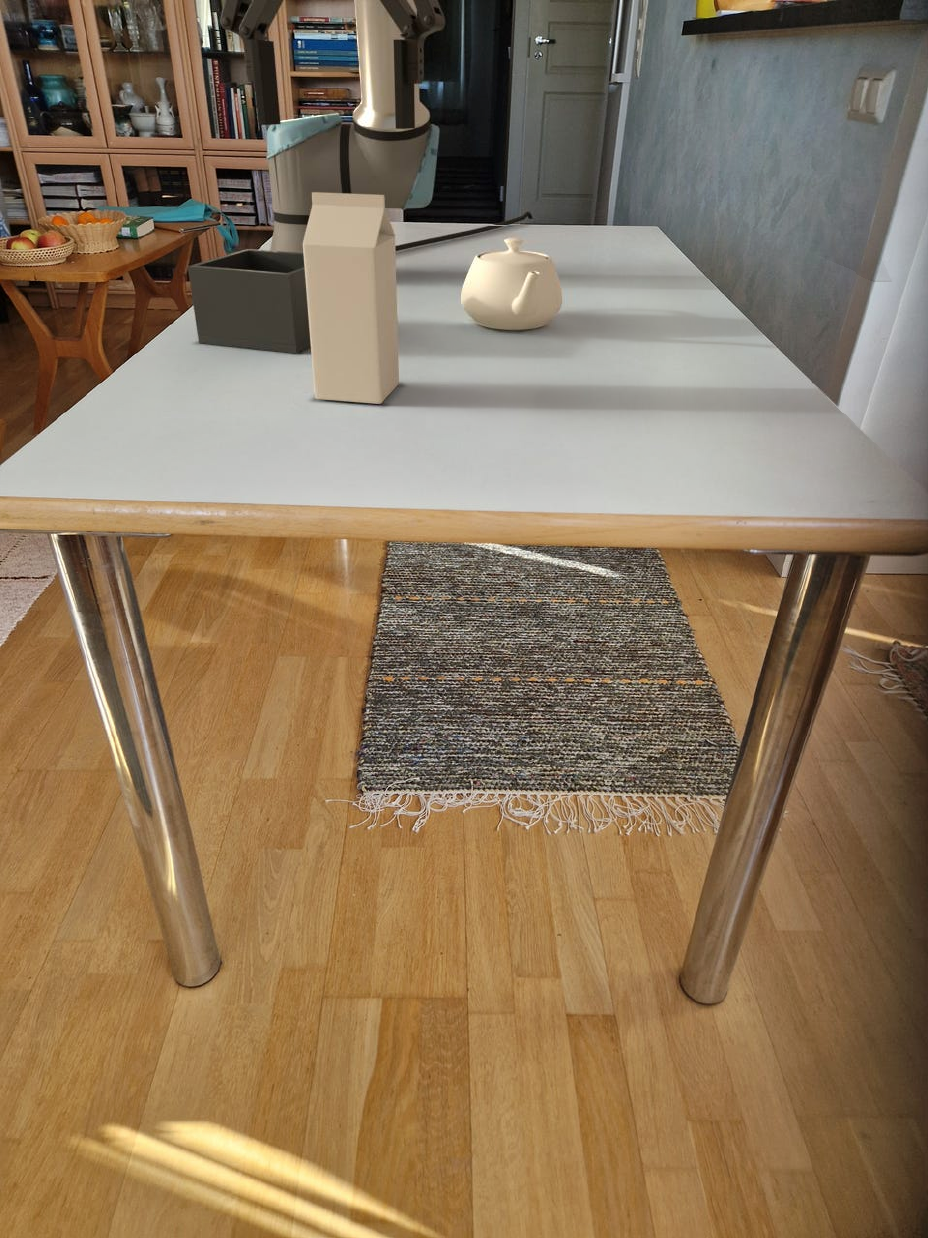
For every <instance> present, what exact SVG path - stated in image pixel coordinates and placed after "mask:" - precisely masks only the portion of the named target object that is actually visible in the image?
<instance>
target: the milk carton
mask: <svg viewBox="0 0 928 1238" xmlns="http://www.w3.org/2000/svg"><path fill="white" fill-rule="evenodd" d="M312 203H313V205H312V209H311V213H310V217H309V221H308V225H307V228H306V232H305V236H304V240H303V252H304V265H305V277H306V290H307V302H308V315H309V328H310V340H311V346H310V352H311V364H312V375H313V376H312V377H313V388H314V398H315V399H316V400H327V401H339V402H351V403H352V402H353V403H363V404H377V405H379V404H380V405H381V404H382V403H383V402H384V400H386V398H387V397H388V396H389V395H390V394H391V393H392V392H393V391H394V390H395V388H396V387H398V386H399V383H400V367H399V366H400V364H399V363H400V362H399V361H400V360H399V329H398V328H399V327H398V324H399V323H398V294H397V293H398V291H397V290H398V288H397V258H396V257H397V253H396V252H397V251H396V249H395V246H396V233H395V231H394V229H393V226H392V222H391V220H390V217H389V215H388V212H387V210H386V209H387V208H385V198H384V195H369V194H343V193H318V192H313V193H312Z"/></svg>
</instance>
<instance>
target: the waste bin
mask: <svg viewBox="0 0 928 1238" xmlns="http://www.w3.org/2000/svg"><path fill="white" fill-rule="evenodd" d="M187 271H188V277H189V278H188V279H189V284H190V286H189V287H190V290H191V291H190V292H191V299H192V305H193V312H194V318H195V325H196V333H197V339H198V343H199V344H205V345H214V346H222V347H231V348H241V349H248V350H249V349H250V350H257V351H259V350H261V351H268V352H277V353H286V354H295V355H296V354H299V353H301V352H303V351H304V350H306V349H308V348H311V340H310V328H309V315H308V302H307V290H306V277H305V265H304V253H295V252H282V251H270V249H269V250H266V249H254V248H246V249H242V250H238V251H235V252H232V253H228V254H224V255H222V256H218V257H214V258H211V259H208V260H205V261H202V262H198V263H194V264H191V265H188V266H187Z"/></svg>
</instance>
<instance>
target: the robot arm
mask: <svg viewBox="0 0 928 1238" xmlns="http://www.w3.org/2000/svg"><path fill="white" fill-rule="evenodd" d="M284 1H285V0H224V1H223V5H222V6H223V7H222V11H221V14H220V18H219V19H220V21H219V22H220V26H221V27H222V29H223V30H225V31H229V32H232V33H233V34H235V35H238V36H239V37H240V39H241V41H242V45H243V54H244V55H243V56H244V65H245V74H246V78H247V81H248V82H250V83H254V89H255V99H256V109H257V119H258V120H257V121H258V126H268V128H267V130H266V153H267V154H266V160H267V164H268V173H269V183H270V193H271V194H270V195H271V203H272V204H271V205H272V213H273V223H274V227H273V232H272V237H271V243H270V247H269V251H282V252H295V253H304V252H303V240H304V236H305V232H306V228H307V225H308V221H309V217H310V213H311V209H312V205H313V203H312V193H313V192H318V193H343V194H369V195H384V198H385V209H400V210H406V209H421V208H425V207H427V206H428V205H430V203H431V202H432V199H433V196H434V195H433V194H434V188H435V187H434V186H435V180H436V169H437V160H438V149H439V140H440V139H439V138H440V128H439V126H438V125H435V124H434V123H431V122H430V121H431V119H430V118H431V114H430V111H429V109H428V108H427V107H426V106H425V105H424V104H423V103H422V102H421V101H420V85H422V84H423V81H424V78H425V65H424V64H425V59H424V58H425V56H424V55H425V53H424V50H425V49H424V48H425V47H424V46H425V45H424V44H425V41H426V38H427V37H428V36H430V35H431V34H433V33H436V32H438V31H439V32H440V31H442V30H443V29H444V28H445V25H446V18H445V15H444V13H443V10H442V8H441V5H440V2H439V0H354V12H355V13H354V14H355V25H356V41H357V55H358V66H359V80H360V82H359V83H360V95H361V96H360V97H361V102H360V103H359V104H358V106H357V107H356V108H355V109H354V111H353V113H352V122H353V123H346V124H345V123H343V119H342V117H341V115H340V113H329V114H328V113H327V114H319V115H312V116H305V117H300V118H299V117H298V118H291V119H285V120H281V113H280V112H281V111H280V101H279V89H278V79H277V78H278V76H277V68H276V67H277V66H276V54H275V43H274V41H273V40H268V39H269V37H268V36H267V35H266V34H267V33H268V31H269V29H270V27H271V25H272V24H273V21H274V20H275V18H276V16H277V14H278V12H279V10H280V8H281V6H282V5H283V3H284ZM532 215H533V214H532V213H531V212H530V211H525V212H524V213H523V214H521V215H520V216H518V217H514V218H511V219H508V220H505V221H500V222H498V223H493V224H492V225H507V226H510V225H512V224H516V223H518V222H521V221H524V220H525V219H526V218H528V220H533V218H534V217H533V216H532ZM503 227H504V226H490V225H486V226H482V227H477V228H473V229H469V230H465V231H464V230H463V231H459V232H455V233H449V234H443V235H440V236H439V235H438V236H435V237H430V238H426V239H425V238H424V239H420V240H416V241H411V242H407V243H406V242H405V243H402V244H397V245H395V249H396V252H399V251H404V250H408V249H413V248H417V247H420V246H426V245H432V244H435V243H440V242H445V241H449V240H454V239H459V238H463V237H469V236H473V235H477V234H481V233H486V232H489V231H493V230H496V229H500V228H503Z"/></svg>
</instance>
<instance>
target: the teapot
mask: <svg viewBox="0 0 928 1238" xmlns="http://www.w3.org/2000/svg"><path fill="white" fill-rule="evenodd" d="M503 241H504V243H505V244H506V246H507V248H508V250H507V249H506V250H504V249H503V250H490V251H483V252H480V253H478V254H476V255H475V256H474V258H473V260H472V263H471V265H470V266H469V269H468V270H467V271H468V272H467V274H466V276H465V279H464V282H463V285H462V288H461V289H462V290H461V293H460V302H461V306H462V308H463V310H464V312H465V313H466V314H467V315H468V316H469V317H470V319H472V320H473V322H474V323H475V324H477V325H480V326H482V327H485V328H489V329H494V330H495V329H496V330H506V331H522V330H523V331H524V330H532V329H537V328H540V327H543V326H545V325H547V324H548V323H549V322H550V321H551V320H552V319H553V318H555V316H556V315H557V314H558V313H559V312H560V311H561V308H562V305H563V292H562V286H561V282H560V279H559V276H558V272H557V270H556V267H555V264H554V262H553V258H552V257H551V256H549V255H548V254H545V253H541V252H538V251H537V252H536V251H530V250H519V247H520V246H522V244H523V243H524V239H523V238H520V237H507V238H505V239H503Z"/></svg>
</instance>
